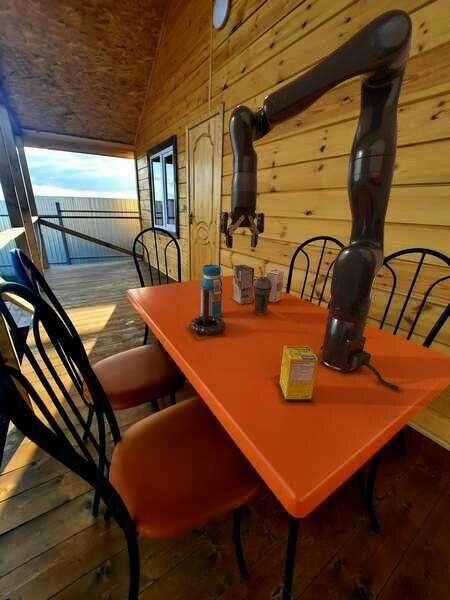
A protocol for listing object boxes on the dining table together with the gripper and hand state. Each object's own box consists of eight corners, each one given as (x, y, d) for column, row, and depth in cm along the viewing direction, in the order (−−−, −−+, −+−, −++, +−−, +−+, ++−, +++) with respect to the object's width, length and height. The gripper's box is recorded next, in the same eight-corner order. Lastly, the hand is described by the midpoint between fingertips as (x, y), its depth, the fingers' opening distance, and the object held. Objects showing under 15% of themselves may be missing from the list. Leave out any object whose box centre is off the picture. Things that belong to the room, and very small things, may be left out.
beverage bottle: (198, 320, 96) (198, 268, 90) (201, 311, 104) (201, 263, 98) (220, 321, 96) (222, 269, 89) (221, 312, 104) (223, 264, 97)
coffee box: (252, 302, 117) (255, 268, 111) (240, 304, 114) (242, 269, 109) (243, 296, 124) (245, 264, 119) (231, 298, 122) (232, 265, 116)
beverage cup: (268, 311, 108) (273, 264, 101) (269, 317, 101) (274, 268, 94) (251, 309, 108) (254, 263, 102) (251, 316, 101) (255, 267, 95)
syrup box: (270, 297, 125) (273, 268, 120) (280, 300, 121) (284, 270, 116) (263, 300, 121) (266, 270, 116) (274, 303, 117) (278, 272, 112)
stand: (223, 335, 85) (224, 291, 80) (198, 340, 81) (198, 294, 76) (212, 324, 93) (213, 283, 88) (189, 328, 89) (188, 286, 84)
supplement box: (302, 384, 62) (309, 345, 58) (311, 402, 56) (319, 359, 53) (278, 384, 62) (283, 344, 58) (284, 402, 56) (290, 359, 52)
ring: (231, 332, 84) (231, 325, 83) (197, 338, 79) (197, 331, 78) (216, 318, 94) (216, 312, 93) (185, 323, 89) (185, 317, 88)
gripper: (228, 188, 67) (227, 250, 72) (271, 191, 74) (267, 248, 79) (216, 190, 74) (215, 247, 79) (257, 193, 80) (254, 245, 85)
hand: (241, 247), depth 79 cm, fingers open, 8 cm apart
